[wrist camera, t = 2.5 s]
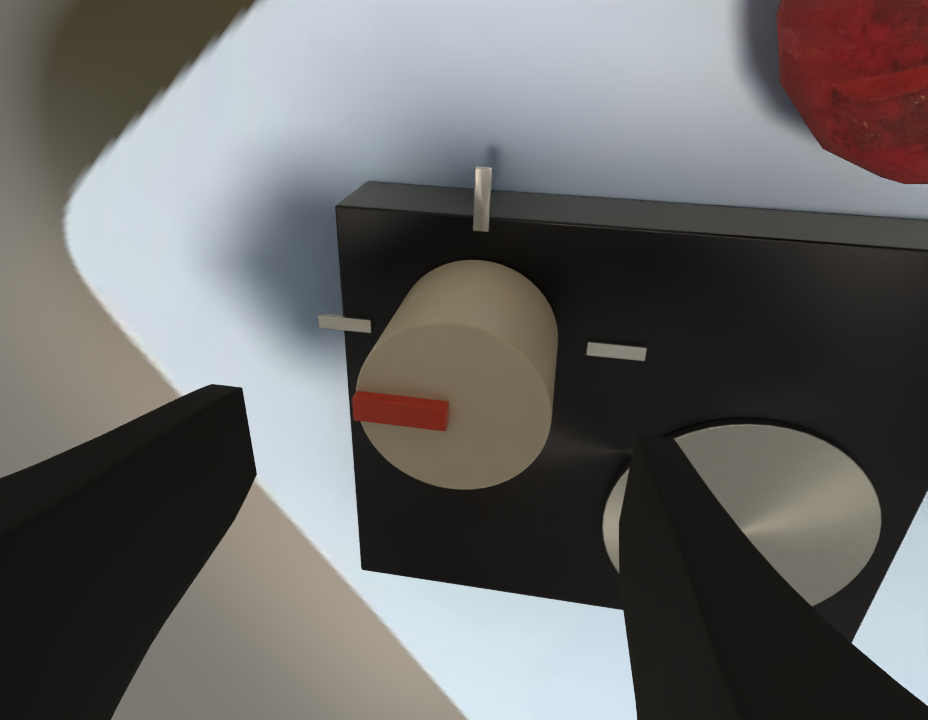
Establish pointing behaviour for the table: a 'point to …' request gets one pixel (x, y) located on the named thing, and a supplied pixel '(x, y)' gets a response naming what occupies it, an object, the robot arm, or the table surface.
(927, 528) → the table surface
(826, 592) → the burner
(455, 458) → the knob
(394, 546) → the hob
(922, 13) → the onion
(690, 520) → the robot arm
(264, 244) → the table surface
